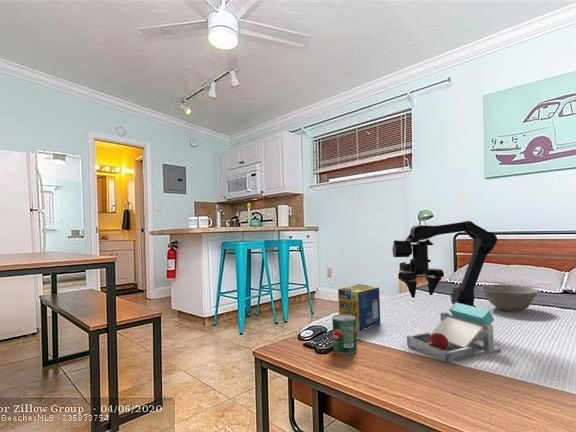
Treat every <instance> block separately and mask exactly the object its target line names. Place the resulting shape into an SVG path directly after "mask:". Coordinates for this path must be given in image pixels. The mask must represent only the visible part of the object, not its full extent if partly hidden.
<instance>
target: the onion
mask: <svg viewBox="0 0 576 432" xmlns="http://www.w3.org/2000/svg"><path fill="white" fill-rule="evenodd" d="M427 344H430V345H432V346H435V347H437V348H440V349H442V350H445V351H447V350H448V348H449V343H448V339H447V338H446V337H445V336H444V335H443V334H440V333H434V334H432V335H431V336H430V337H429V340H428V342H427Z"/></svg>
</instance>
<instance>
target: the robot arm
mask: <svg viewBox="0 0 576 432" xmlns="http://www.w3.org/2000/svg"><path fill="white" fill-rule="evenodd" d="M460 232H464V233H466V234H467V236H469V238H471V239H472V250H473V251H472V254H471V257H470V260H469V262H468V264H467V265H468V266H467V268H466V271H465V273H464V276H463V278H462V281H461V284H460V285H459V286H458V288H457V287H455V286H454V287H453V289H452V293H451V294H450V295H449V297H450V301H451V304H452V306H453V305H454V304H455V303H460V304H464V305H469V306H473V307H477V306H476V305H475V304H474V303H475V288H476V285H477V283H478V279H479V277H480V275H481V274H480V273H481V272H482V268H483V266H484V263H485V261H486V259H487V255H488V256H489V254H490V253H491V252H492V251H493V250H494V248H495V246H496V245H497V243H498V237H497V235H496V234H494V232H492V231H488V230H486V229H485V228H482V227H481V226H479V225H477V224H476V223H474V222H473V221H471V220H463V221H460V222H454V223H453V222H452V223H445V224H438V225H437V224H436V225H419V224H418V225H414V226H412V227H411V228H410V231H409V235H408V236H407V238H406V239H405V240H393V244H392V256H393V258H409V257H410V256H412V258H410V260H409V263H406V262H405V261H404V262H399V272H398V273H397V275H398V276H397V277H398V278H397V280H400V281H401V282H403V283H405V285H406V286H407V289H408V291H409V293H410V296H411V298H413V299H414V298H415V297H416V293H417V292H416V291H417V283H418V281H417V280H416V279H417V278H423V277H425V279H426V280H427V285H428V294H429V296H432V295H433V294H434V292H435V290H436V288H437V285H439V282H440V281H441V280H442V278H443V277H445V275H444V274H445V273H444V271H443V269H439V268H430V267H429V263H431V261H432V260H431V259H430V258H429V248H428V246H434V243H433V242H432V241H430V239H431V238H433V237H435V236H440V235H446V234H454V233H460Z"/></svg>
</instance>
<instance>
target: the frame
mask: <svg viewBox="0 0 576 432" xmlns="http://www.w3.org/2000/svg"><path fill="white" fill-rule="evenodd" d="M439 314H440V323H441V322H442V321H443V320H444V319H445V318H446V317H447V314H449V315H450V312H446V311H445V312H440V313H439ZM482 327H483V329H482V340H478V339H475V338H474V339H473V341H472V342H471V343H470V344H469V345H468V346H467V347H465V348H461V347H459V348H458V349H453V350H448V351H447V350H442V349H440V348H437V347H435V346H432V345H430V344H428V340H429V337H430V335H429V334H430V333H431V332H429V331H428V332H424V333H423V332H422V333H419V334H413V335H409V336H406V344H407V345H406V346H407V347H409V348H412V349H415V350H417V351H418V352H419V351H420V352H422V353H424V354H426V355H428V356H430V357H432V358H435V359H438V360H440V361H442V362H443V363H446V364H452V363H455V362H460V361H462V360H463V361H464V360H467V359H471V358H472V359H475V358H478V357H482V356H485V355H492V354H496V353H500V352H502V347H500V346H497V345H495V344H494V343H495V342H494V325H493V324H492V323H491V324H483V325H482ZM471 345H472V346H471ZM474 346H475V347H474ZM472 347H474V348H477V349H479V350H477V351H473V352H472Z"/></svg>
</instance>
